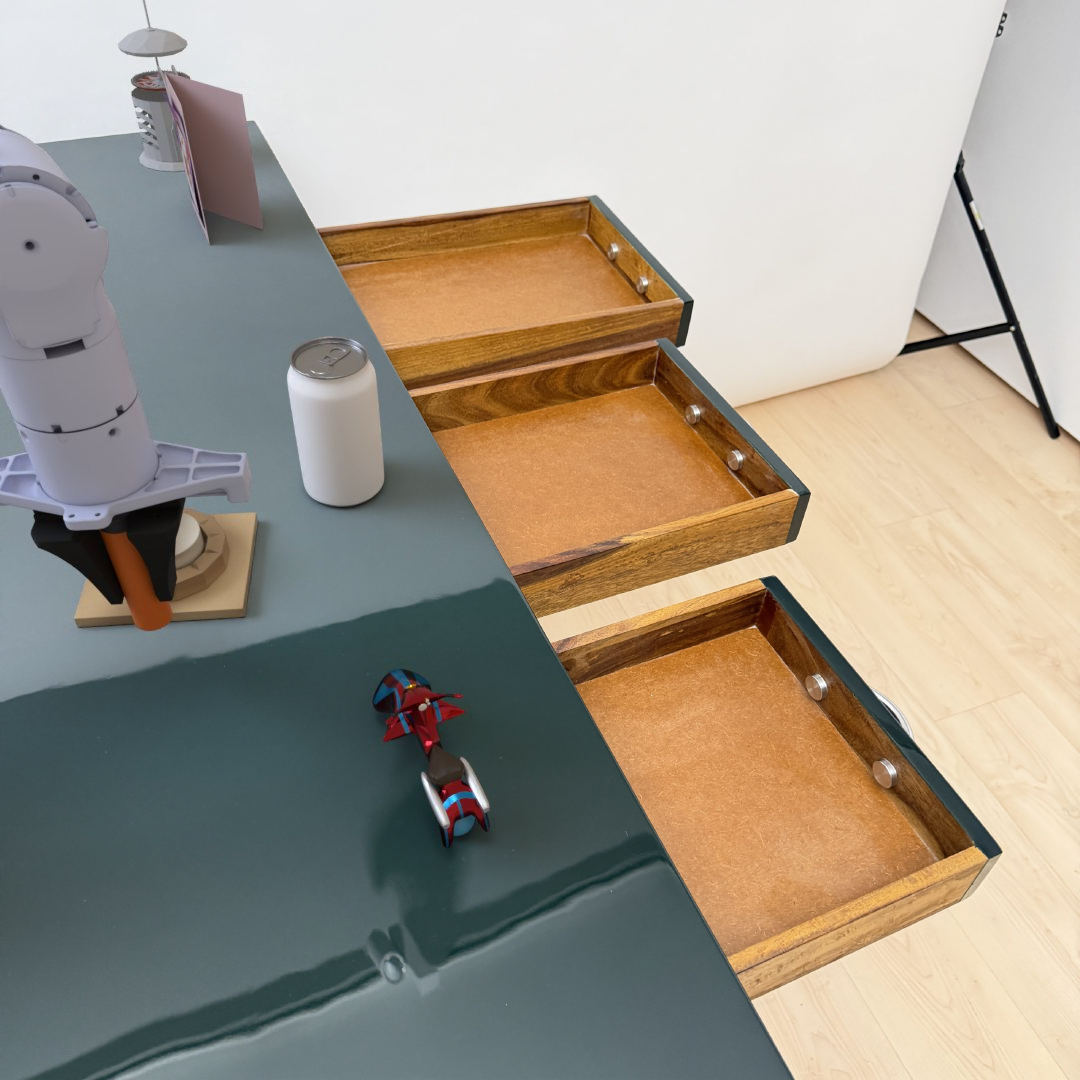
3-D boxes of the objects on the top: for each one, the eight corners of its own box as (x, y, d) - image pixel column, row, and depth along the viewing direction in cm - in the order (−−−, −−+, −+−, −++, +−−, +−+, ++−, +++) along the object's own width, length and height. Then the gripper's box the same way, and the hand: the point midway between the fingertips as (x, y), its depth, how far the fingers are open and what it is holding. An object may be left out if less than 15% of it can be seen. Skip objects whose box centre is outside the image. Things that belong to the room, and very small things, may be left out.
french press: (202, 139, 125) (160, -76, 108) (230, 169, 118) (190, -56, 101) (129, 150, 121) (74, -72, 103) (154, 181, 114) (98, -51, 97)
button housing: (77, 627, 61) (65, 602, 59) (108, 527, 68) (99, 502, 66) (245, 617, 62) (239, 592, 60) (258, 520, 69) (252, 496, 68)
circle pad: (123, 577, 61) (117, 561, 60) (136, 528, 65) (131, 512, 64) (199, 573, 62) (194, 557, 61) (208, 524, 66) (204, 508, 65)
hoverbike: (432, 680, 59) (430, 624, 55) (509, 833, 51) (513, 780, 48) (357, 706, 57) (349, 650, 53) (425, 869, 50) (422, 817, 46)
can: (288, 495, 72) (265, 367, 63) (331, 451, 76) (315, 325, 68) (359, 519, 70) (344, 390, 62) (399, 472, 74) (390, 346, 66)
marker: (130, 633, 54) (86, 521, 47) (137, 605, 55) (96, 493, 49) (170, 630, 54) (132, 519, 48) (176, 602, 56) (140, 491, 49)
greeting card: (185, 206, 109) (156, 72, 99) (247, 198, 112) (225, 67, 101) (201, 246, 102) (172, 106, 91) (267, 237, 104) (246, 100, 94)
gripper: (-120, 455, 40) (-9, 651, 49) (220, 442, 42) (264, 633, 51) (-65, 368, 45) (26, 561, 54) (236, 361, 47) (273, 548, 56)
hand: (143, 590), depth 53 cm, fingers closed on marker, 2 cm apart
